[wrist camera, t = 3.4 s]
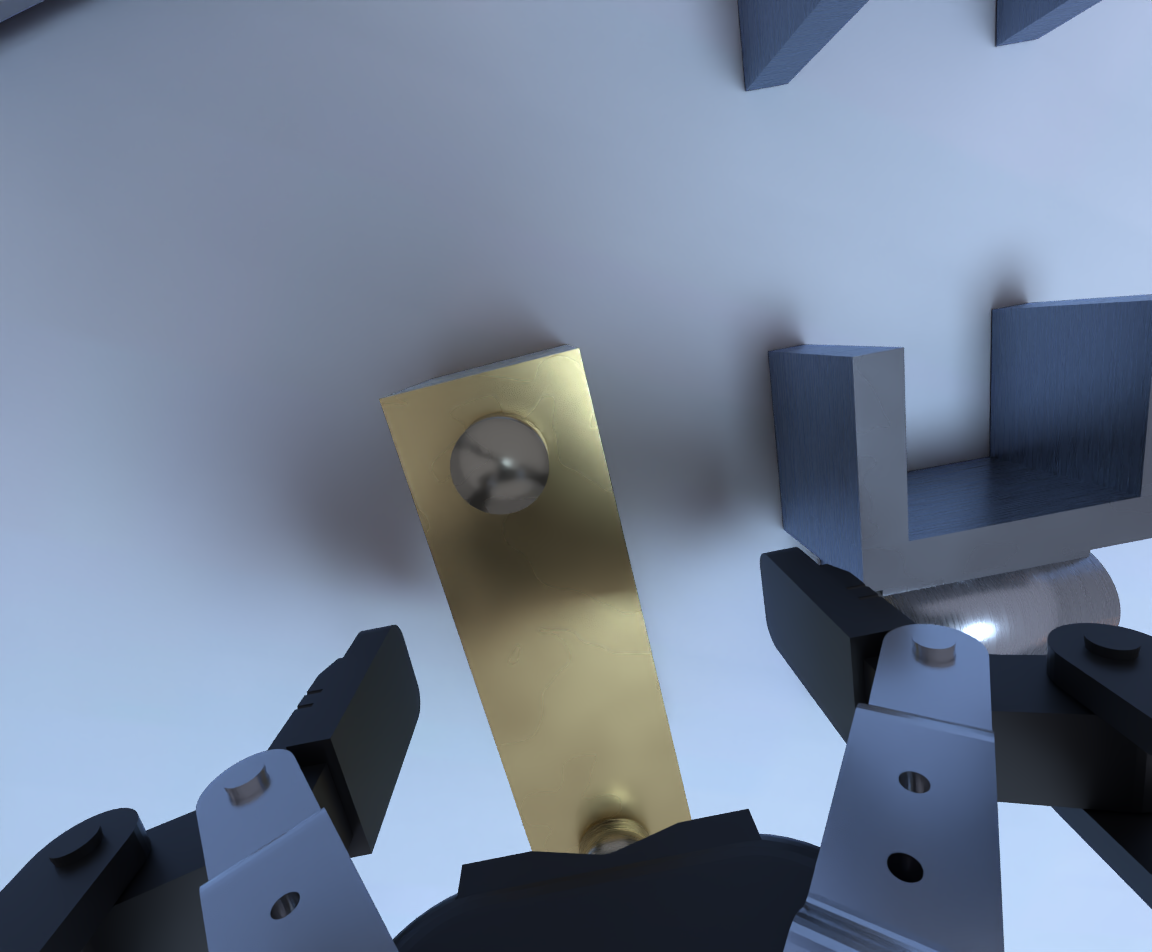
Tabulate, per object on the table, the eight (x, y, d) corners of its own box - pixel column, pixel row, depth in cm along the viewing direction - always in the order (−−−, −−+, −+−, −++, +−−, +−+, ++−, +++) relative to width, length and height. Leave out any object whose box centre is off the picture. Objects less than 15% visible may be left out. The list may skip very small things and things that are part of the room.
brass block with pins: (551, 754, 17) (556, 957, 12) (434, 377, 14) (364, 404, 9) (659, 727, 17) (716, 916, 12) (566, 344, 14) (582, 348, 9)
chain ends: (799, 708, 17) (874, 817, 13) (686, -591, 10) (778, -1178, 6) (1017, 665, 17) (1156, 761, 13) (1059, -652, 10) (1381, -1262, 6)
